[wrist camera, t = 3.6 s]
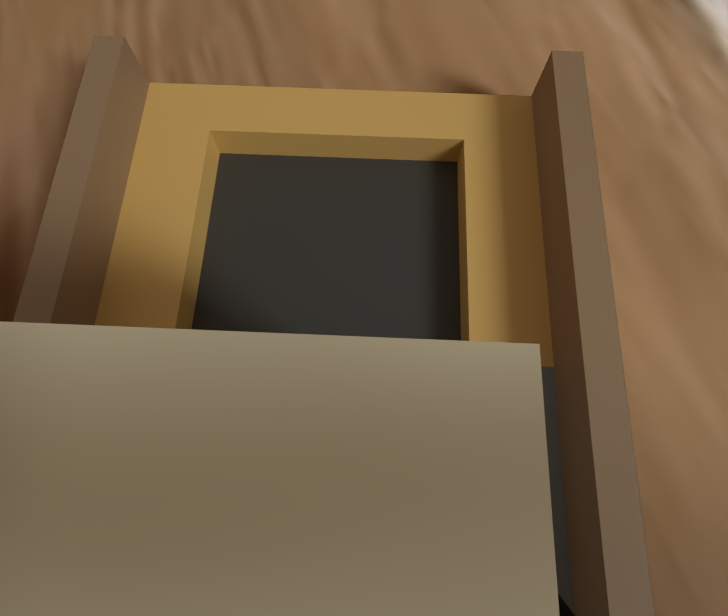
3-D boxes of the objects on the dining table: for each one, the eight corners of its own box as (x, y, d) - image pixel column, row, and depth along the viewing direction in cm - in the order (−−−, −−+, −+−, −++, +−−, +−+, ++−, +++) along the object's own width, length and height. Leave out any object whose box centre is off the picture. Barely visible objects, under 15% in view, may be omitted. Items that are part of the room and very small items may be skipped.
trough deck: (638, 1155, 10) (764, 1472, 7) (-90, 1108, 11) (-294, 1396, 7) (544, 124, 19) (582, 51, 16) (140, 110, 19) (94, 35, 16)
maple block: (417, 678, 12) (621, 1470, 2) (177, 666, 12) (-513, 1393, 3) (419, 429, 14) (539, 344, 4) (211, 420, 14) (-113, 316, 4)
